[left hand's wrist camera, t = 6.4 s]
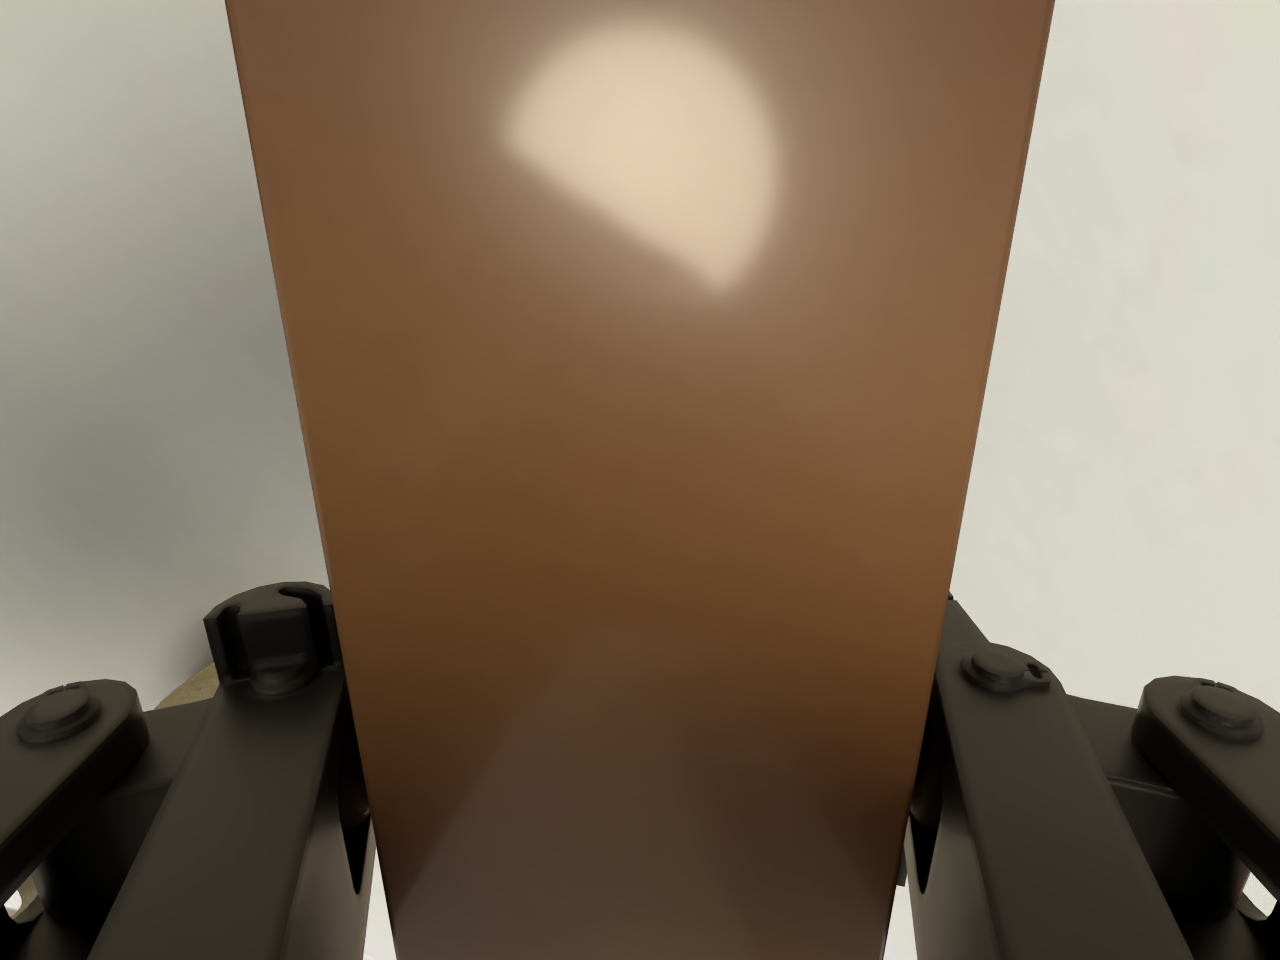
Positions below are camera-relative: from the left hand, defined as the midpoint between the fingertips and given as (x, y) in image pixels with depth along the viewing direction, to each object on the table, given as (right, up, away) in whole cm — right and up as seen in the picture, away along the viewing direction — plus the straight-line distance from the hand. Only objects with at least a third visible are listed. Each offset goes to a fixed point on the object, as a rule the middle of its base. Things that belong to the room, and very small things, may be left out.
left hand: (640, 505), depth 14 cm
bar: (0, +7, -2) cm, 7 cm away
